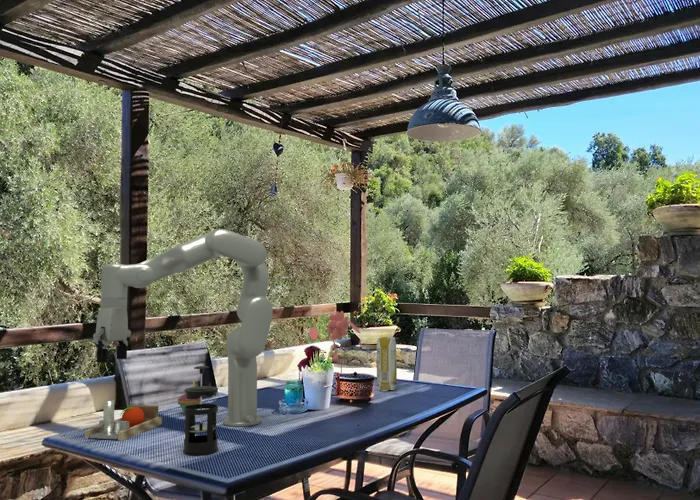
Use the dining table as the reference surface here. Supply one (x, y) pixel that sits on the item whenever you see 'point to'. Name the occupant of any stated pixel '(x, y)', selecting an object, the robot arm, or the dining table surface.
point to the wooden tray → (148, 423)
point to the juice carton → (386, 363)
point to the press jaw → (109, 423)
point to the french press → (200, 442)
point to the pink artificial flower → (335, 330)
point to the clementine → (133, 416)
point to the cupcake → (188, 400)
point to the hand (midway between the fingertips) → (112, 360)
